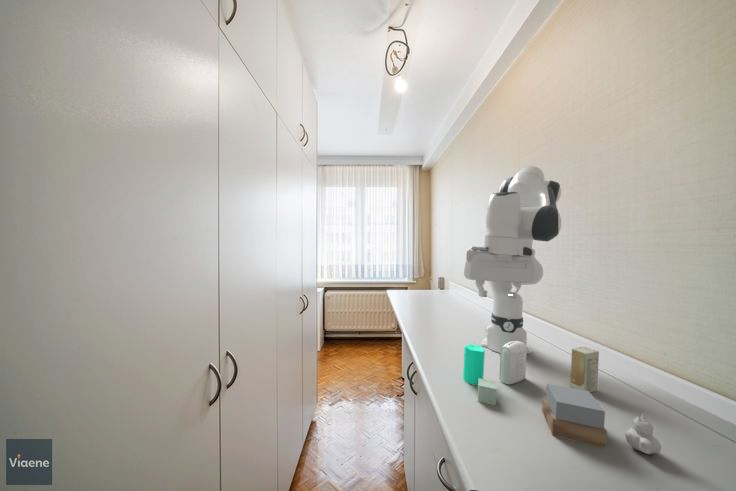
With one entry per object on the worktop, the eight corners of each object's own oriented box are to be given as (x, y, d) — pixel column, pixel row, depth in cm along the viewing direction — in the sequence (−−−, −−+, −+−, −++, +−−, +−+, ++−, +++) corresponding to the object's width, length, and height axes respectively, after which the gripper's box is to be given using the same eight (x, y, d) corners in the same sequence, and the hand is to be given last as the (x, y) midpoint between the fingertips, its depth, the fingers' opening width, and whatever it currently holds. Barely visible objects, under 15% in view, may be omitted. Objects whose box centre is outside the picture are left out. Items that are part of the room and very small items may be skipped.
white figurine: (655, 448, 61) (657, 411, 61) (665, 467, 56) (667, 428, 55) (622, 437, 64) (623, 403, 64) (628, 455, 59) (630, 417, 58)
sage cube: (477, 393, 81) (478, 378, 81) (494, 397, 79) (495, 381, 79) (478, 401, 77) (478, 385, 76) (496, 405, 75) (496, 389, 75)
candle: (469, 385, 85) (471, 346, 85) (459, 376, 91) (461, 339, 91) (487, 384, 86) (488, 346, 86) (476, 375, 92) (477, 339, 92)
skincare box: (582, 384, 89) (584, 346, 89) (598, 391, 85) (600, 351, 85) (569, 386, 87) (571, 347, 87) (583, 394, 83) (586, 353, 82)
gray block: (545, 398, 72) (546, 383, 72) (587, 407, 69) (588, 391, 69) (555, 418, 64) (556, 401, 64) (603, 429, 61) (604, 411, 61)
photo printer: (514, 373, 95) (516, 337, 94) (527, 378, 91) (529, 341, 91) (497, 380, 89) (498, 342, 89) (510, 386, 85) (512, 346, 85)
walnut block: (541, 412, 73) (542, 397, 73) (587, 421, 70) (588, 406, 70) (552, 436, 64) (553, 419, 64) (605, 449, 60) (606, 430, 60)
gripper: (474, 245, 73) (470, 298, 73) (540, 251, 77) (537, 300, 77) (461, 245, 80) (458, 293, 80) (523, 250, 84) (520, 296, 83)
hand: (497, 297), depth 78 cm, fingers open, 8 cm apart
